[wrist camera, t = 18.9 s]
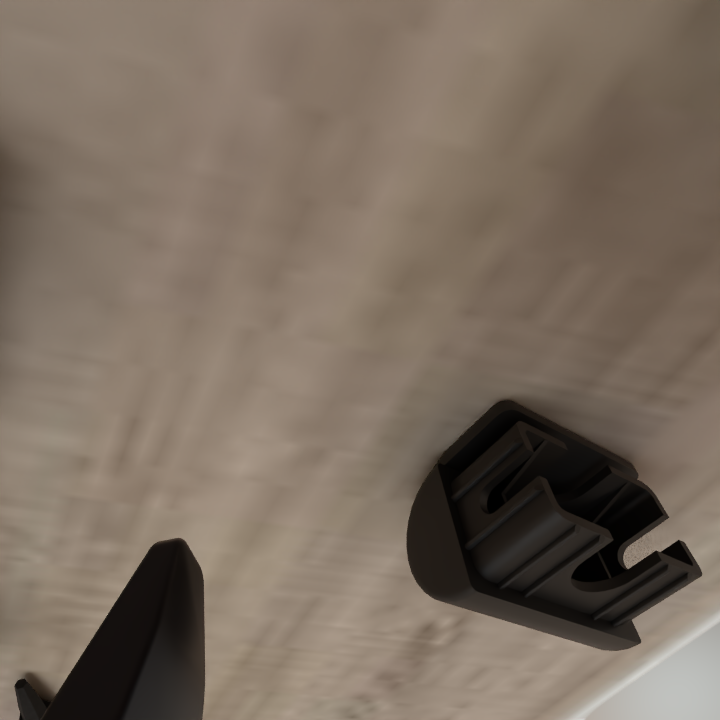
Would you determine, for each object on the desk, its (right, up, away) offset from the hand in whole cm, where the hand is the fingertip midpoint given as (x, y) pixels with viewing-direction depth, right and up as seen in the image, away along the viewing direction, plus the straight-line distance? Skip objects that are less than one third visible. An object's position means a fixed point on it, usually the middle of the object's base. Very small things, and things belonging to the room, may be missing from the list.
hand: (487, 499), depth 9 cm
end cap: (+6, -3, +20) cm, 21 cm away
